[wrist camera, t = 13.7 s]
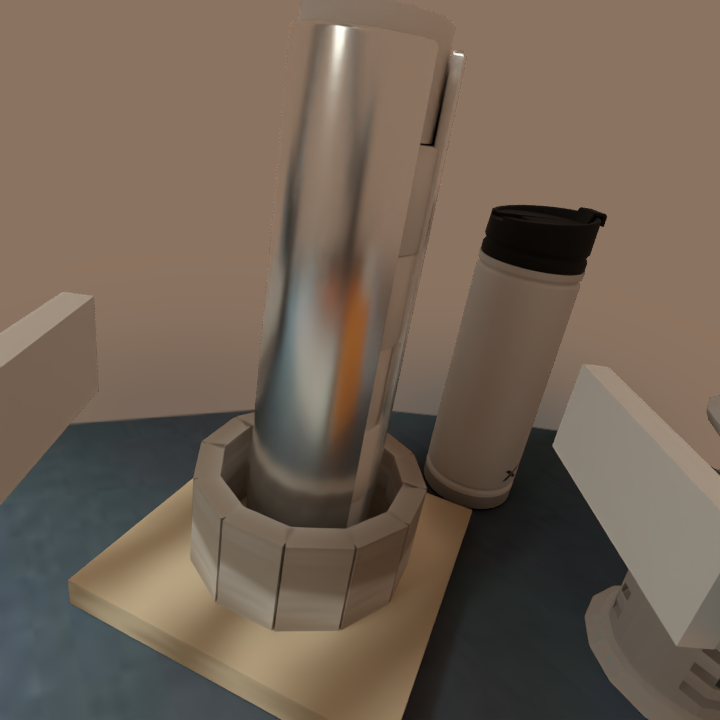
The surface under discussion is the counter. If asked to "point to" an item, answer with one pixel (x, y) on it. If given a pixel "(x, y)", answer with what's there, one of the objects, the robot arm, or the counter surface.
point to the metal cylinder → (346, 248)
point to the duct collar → (284, 587)
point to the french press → (653, 650)
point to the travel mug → (507, 348)
